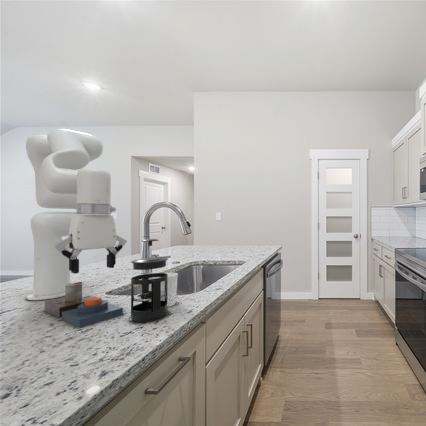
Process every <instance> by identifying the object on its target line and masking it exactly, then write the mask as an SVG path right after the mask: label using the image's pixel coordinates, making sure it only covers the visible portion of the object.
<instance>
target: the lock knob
mask: <svg viewBox="0 0 426 426" xmlns="http://www.w3.org/2000/svg"><path fill="white" fill-rule="evenodd" d="M82 294H83V281H77V282H70V284H66V285H65V296H64V297H65V301H67V302H69V301H76V300H80V299H82Z"/></svg>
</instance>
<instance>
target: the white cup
mask: <svg viewBox="0 0 426 426" xmlns="http://www.w3.org/2000/svg"><path fill="white" fill-rule="evenodd" d="M165 273H166V274H168V279H167V308H169V307H172V306H174V305H176V303H177V293H178V292H177V291H178V279H179V277H178V276H179V274H178V273H177V272H165ZM156 278H161V277H153V278H151V279H156ZM161 291H164V292H165V281H163V282H161ZM161 301H165V296H164V297H162V298H161Z"/></svg>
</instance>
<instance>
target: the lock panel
mask: <svg viewBox="0 0 426 426" xmlns="http://www.w3.org/2000/svg"><path fill="white" fill-rule="evenodd" d="M95 297H97V296H96V295H94V294H90V293H88V292H82V299H80V300H76V301H69V302H67V301H65V296H63V297H58V298H53V299H48V300H44V312H47V313H49V314H51V315H53V316H54V317H57V318H58V319H59V318H61V319H62V312H64V311H68V310H72V309H76V308H78V306H79V305H80V304H83V303H85V300H86V299H89V298H95ZM101 300H103V299H102V297H101Z"/></svg>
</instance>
